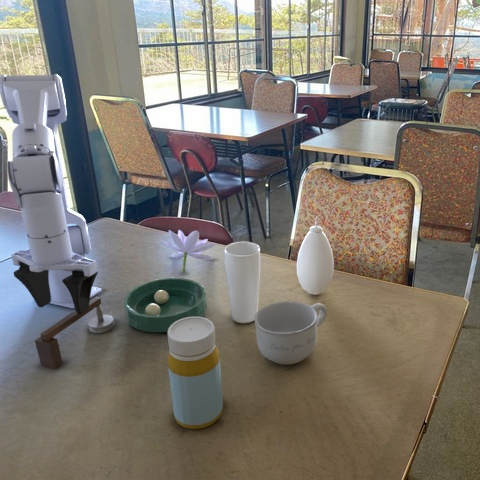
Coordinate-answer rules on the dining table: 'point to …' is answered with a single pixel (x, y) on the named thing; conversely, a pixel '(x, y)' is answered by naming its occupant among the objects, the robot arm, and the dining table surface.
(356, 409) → the dining table surface
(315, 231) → the sauce bottle
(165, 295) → the ball
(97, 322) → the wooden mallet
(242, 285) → the white tumbler
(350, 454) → the dining table surface
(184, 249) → the water lily
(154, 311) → the ball
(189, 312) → the bowl
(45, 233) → the robot arm
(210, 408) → the bottle
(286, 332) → the teacup
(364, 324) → the dining table surface
